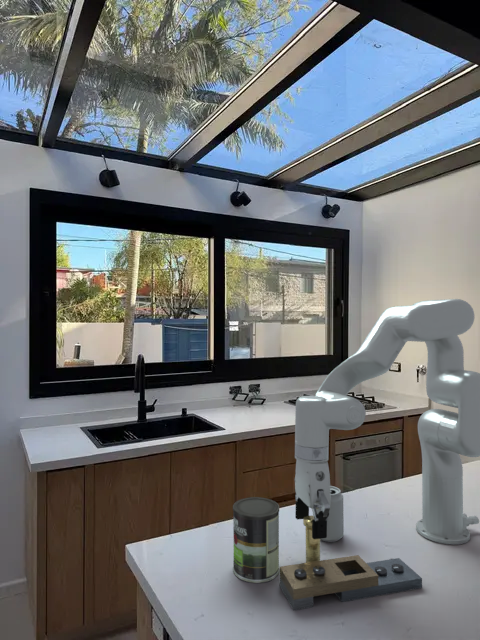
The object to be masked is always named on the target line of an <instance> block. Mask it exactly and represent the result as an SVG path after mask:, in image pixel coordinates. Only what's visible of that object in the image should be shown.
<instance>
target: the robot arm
mask: <svg viewBox="0 0 480 640" xmlns="http://www.w3.org/2000/svg"><path fill="white" fill-rule="evenodd" d="M474 321H475V311H474V308H473V307H472V305H471V304H470V303H469V302H467V301H466V300H463V299H461V298H449V299H430V300H429V299H427V300H422V301H417V302H415V303H413V304H412V305H397V306H395V305H394V306H390V307H388V308H386V309H385V310H384V311H383V312H381V314H380V316H379V317H378V319H377V320H376V322H375V323H374V325H373V326H372V328H371V330H370V331H369V332H368V334H367V335H366V337H365V338H364V340H363V341H362V343H361V345H360V346H359V348H358V349H357V350H356V351H355V352H354V353H353V354H352V355H351V356H349V357H348V358H347V359H345V360H344V361H342V362H341V363H340V364H339V365H337V366H336V367H335V368H333V370H332V371H331V372H330V373H328V375H327V376H326V378H325V379H324V380H323V382H322V383H321V384H320V386H319V388H318V389H317V391H316V393H315V394H314V395H302V396H300V397H298V398H296V401H295V413H294V414H295V415H294V416H295V418H294V419H295V420H294V424H295V425H294V426H295V427H294V429H295V430H294V459H295V460H296V462H295V471H294V472H295V474H294V475H295V477H294V491H295V496H294V498H295V512H294V513H295V519H296V520H303V518H304V517H306V516H310V509H311V513H312V516H314V519H313V520H312V538H313V539H322V538H326V537H327V520H328V516H329V510H330V504H331V494H330V486H331V479H330V478H331V477H330V476H331V475H330V467H329V463H328V461H329V449H330V448H329V446H330V445H329V444H330V443H329V441H330V437H329V436H330V430H331V429H333V430H341V431H342V430H344V431H350V430H355V429H357V428H359V427H361V425H363V424H364V422H365V419H366V415H367V413H366V409H365V406H364V404H363V403H362V402H361V401H360V400H359V399H357V398H355V397H352V396H349V395H348V394H349V393H350V391H352V390H353V389H354V388H355V387H356V386H357V385H359V384H361V383H362V382H365V381H369V380H371V379H374V378H377V377H380V376H383V375H384V374H387V373H388V371H389V370H390V369H391V367H392V366H393V364H394V362H395V361H396V360H397V357H398V356H399V354H400V353H401V352H402V349H403V348H404V347H405V345H406V343H407V342H417V343H418V342H420V343H421V342H422V343H423V342H424V343H425V346H426V349H427V350H426V351H427V362H426V363H427V367H426V381H425V385H426V387H425V388H426V390H425V391H426V395H427V397H428V399H430V401H432V402H434V403H436V404H439V405H443V406H447V407H451V408H455V409H457V412H454V411H449V410H445V409H442V408H441V409H440V408H432V409H428V410H426V411H424V412H423V413H422V414H421V415H420V417H419V419H418V421H417V434H418V439H419V442H420V443H419V444H420V449H421V465H422V466H421V477H422V479H421V482H422V483H421V485H422V490H421V492H422V493H421V495H422V497H421V500H422V501H421V504H422V509H421V511H422V514H421V515H422V518H421V519H419V520H418V521H417V522H416V524H415V526H416V527H415V529H416V531H417V533H418V534H419V535H420V536H422V537H423V538H425V539H427V540H429V541H432V542H435V543H438V544H445V545H461V544H466V543H467V542H468V541H470V540H471V533H470V530H469V529H468V527H469V526H470V525H471V526H472V525H478V524H479V523H480V519H479V517H478V516H477V515H472V516H468V515H467V514H466V513H464V493H463V491H464V485H463V484H464V483H463V482H464V479H463V476H464V472H463V471H464V469H463V463H462V457H461V456H464V457H468V458H478V457H479V458H480V372H477V371H472V370H466V369H465V368H464V367H465V366H464V364H465V361H464V360H465V359H464V358H465V357H464V355H465V353H464V346H463V343H462V341H461V338H460V337H459V336H460V335H463V334H464V333H467V331H469V330H470V329H471V328H472V327H473V324H474ZM314 503H321V504H320V505H314ZM316 509H321V511H320V512H319V513H318V514H317V510H316Z"/></svg>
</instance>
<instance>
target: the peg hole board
mask: <svg viewBox="0 0 480 640" xmlns="http://www.w3.org/2000/svg"><path fill="white" fill-rule="evenodd" d="M279 588H280V589H281V591H282V593H283V594H284V596H285V598H286V599H287V601H288V603H289V605H290V606H291V608H292V610H293V611H297V610H299V611H300V610H304V609H310V608H314V597H319V596H325V595H330V594H335V595H336V596H337V598H338V599H339V600H340V602H341V603H344V602H350V601H354V600H362V599H365V598H366V599H367V598H373V597H377V596H383V595H388V594H389V595H390V594H395V593H396V594H397V593H401V592H407V591H412V590H418V589H423V578H422V577H421V576H420V575H419V574H418V573H417V572H416V571H414V570H413V569H412V568H411V567H410V566H409V565H408V564H407V563H406V562H404V561H403V560H402V559H401V558H400V557H397V558H390V559H389V558H388V559H384V560H377V561H371V562H366V561H365V560H364V559H363V558H362V557H361V556H360V555H359V554H358V555H356V554H355V555H349V556H342V557H337V558H336V557H335V558H331V559H330V558H327V559H322V560H321V559H320V561H314V562H308V563H306V562H304V563H302V562H301V563H296V564H289V565H283V566H281V565H280V566H279Z"/></svg>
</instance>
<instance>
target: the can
mask: <svg viewBox="0 0 480 640" xmlns="http://www.w3.org/2000/svg"><path fill="white" fill-rule="evenodd" d="M341 491H342V490H341V488H338V487H336V486H333V485H330V494H331V504H330V510H329V516H328V520H327V537H326V538H322V539H320V541H323V542H329V543H334V542H337V541H340V539H341V538H342V537H344V534H345V533H344V530H345V529H344V528H345V527H344V495H343V494H342V492H341ZM320 504H321V503H314V505H320ZM316 510H317V514H318V513H319V512H320V511H321V509H316Z"/></svg>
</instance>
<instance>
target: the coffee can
mask: <svg viewBox="0 0 480 640" xmlns="http://www.w3.org/2000/svg"><path fill="white" fill-rule="evenodd" d="M232 511H233V520H232V521H233V523H232V524H233V528H232V529H233V567H232V570H233V571H232V572H233V574H234V576H236V577H237V578H238V579H239V580H241V581H243V582H246V583H247V582H248V583H253V584H262V583H268V582H270V581H272V580H274V579H276V578H277V576H278V575H279V574H280V564H279V563H280V562H279V561H280V560H279V559H280V554H279V553H280V549H279V547H280V545H279V542H280V541H279V540H280V538H279V537H280V535H279V533H280V530H279V529H280V519H279V517H280V516H279V515H280V505H279V503H278V502H276V501H275V500H273V499H269V498H266V497H261V496H250V497H245V498H240V499H238V500H237V501H235V502H234V503H233V505H232Z"/></svg>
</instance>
